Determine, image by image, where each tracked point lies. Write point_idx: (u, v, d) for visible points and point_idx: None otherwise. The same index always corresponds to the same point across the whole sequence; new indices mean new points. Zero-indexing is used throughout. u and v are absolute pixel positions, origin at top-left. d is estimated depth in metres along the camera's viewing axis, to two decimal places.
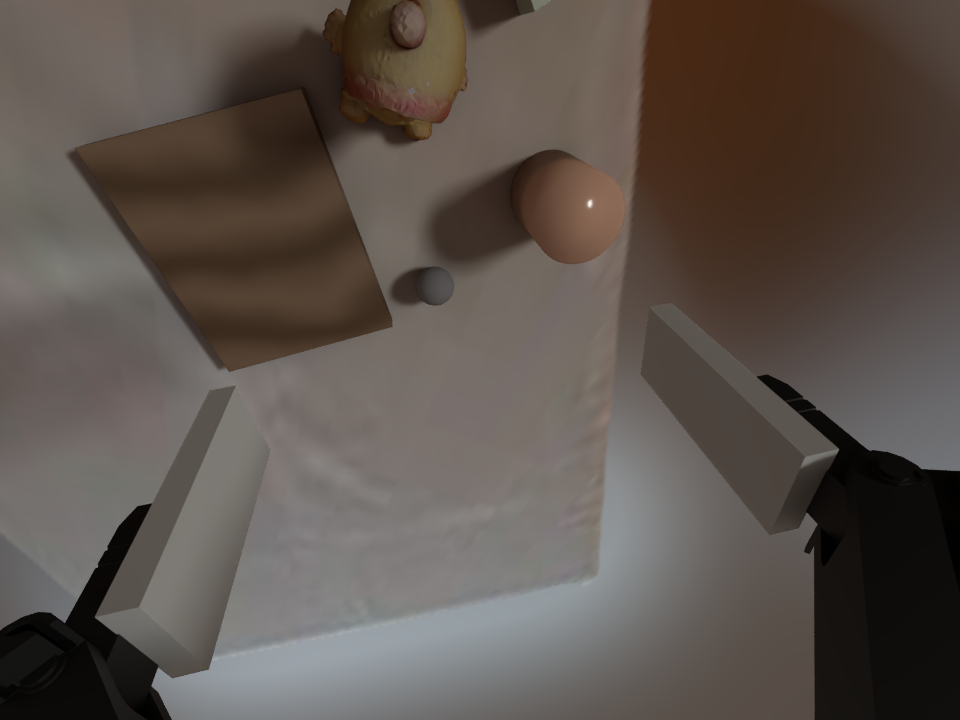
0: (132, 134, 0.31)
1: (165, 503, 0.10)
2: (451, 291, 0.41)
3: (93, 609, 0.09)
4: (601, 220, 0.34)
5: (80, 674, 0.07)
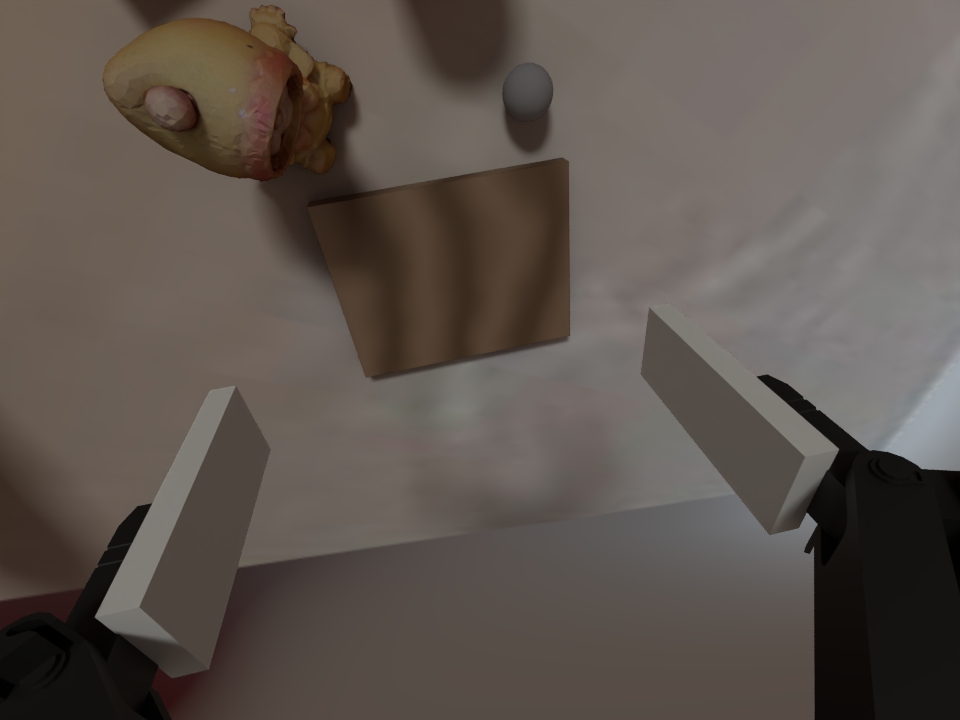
0: (354, 342, 0.40)
1: (165, 503, 0.10)
2: (537, 69, 0.30)
3: (93, 609, 0.09)
4: None
5: (80, 674, 0.07)
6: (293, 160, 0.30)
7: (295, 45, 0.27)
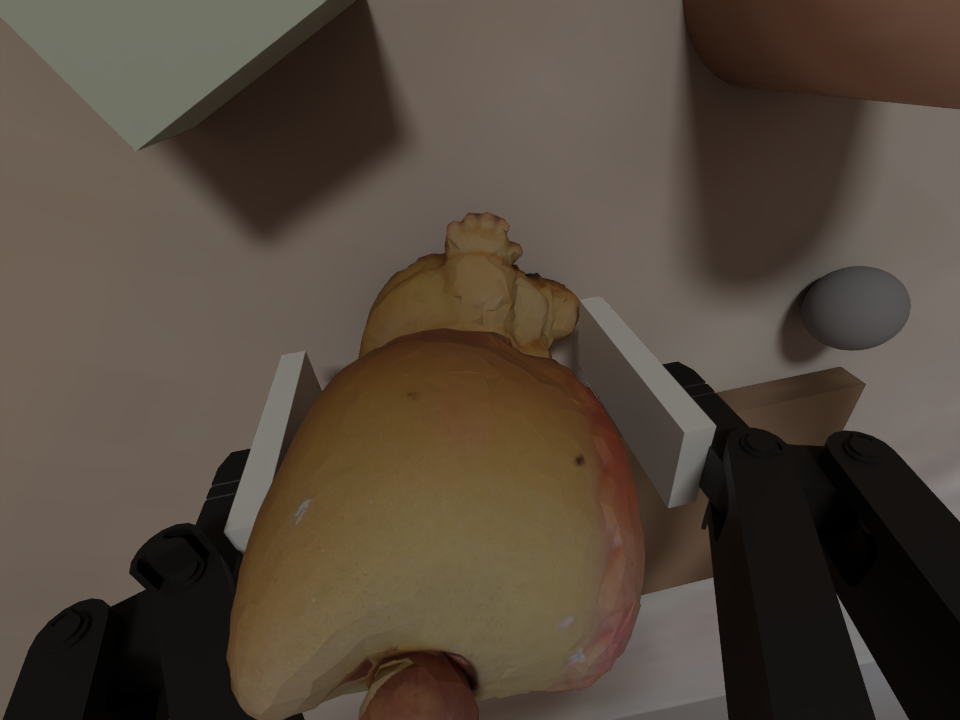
0: None
1: (263, 445, 0.11)
2: (898, 288, 0.17)
3: (211, 532, 0.10)
4: None
5: (214, 583, 0.08)
6: None
7: (524, 282, 0.14)
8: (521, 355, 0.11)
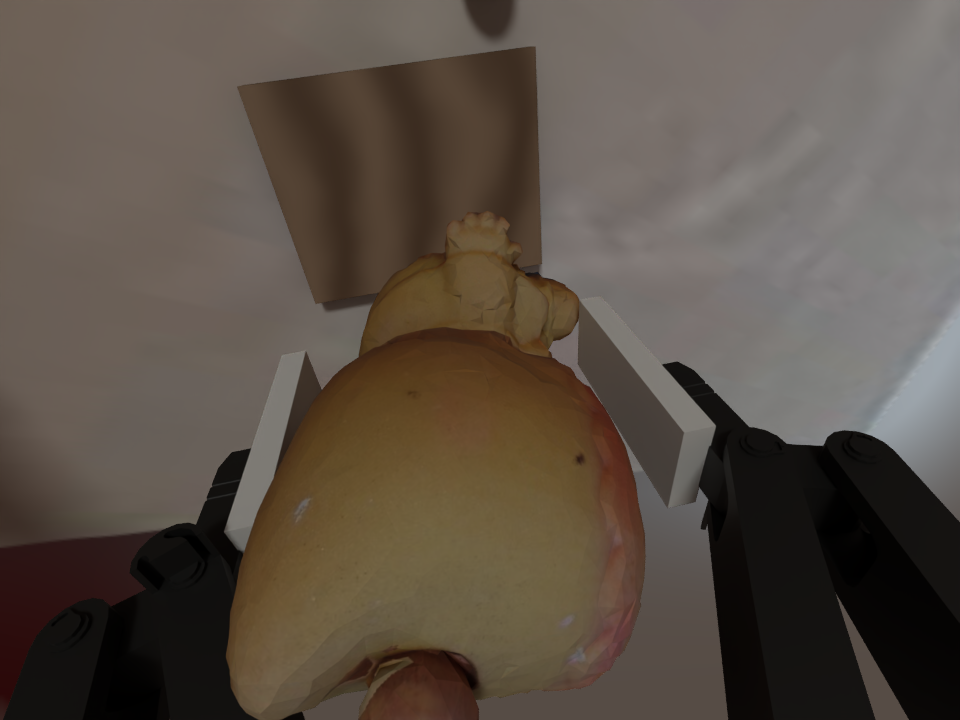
0: (301, 260, 0.36)
1: (264, 445, 0.11)
2: None
3: (211, 532, 0.10)
4: None
5: (215, 583, 0.08)
6: None
7: (524, 281, 0.14)
8: (521, 354, 0.11)
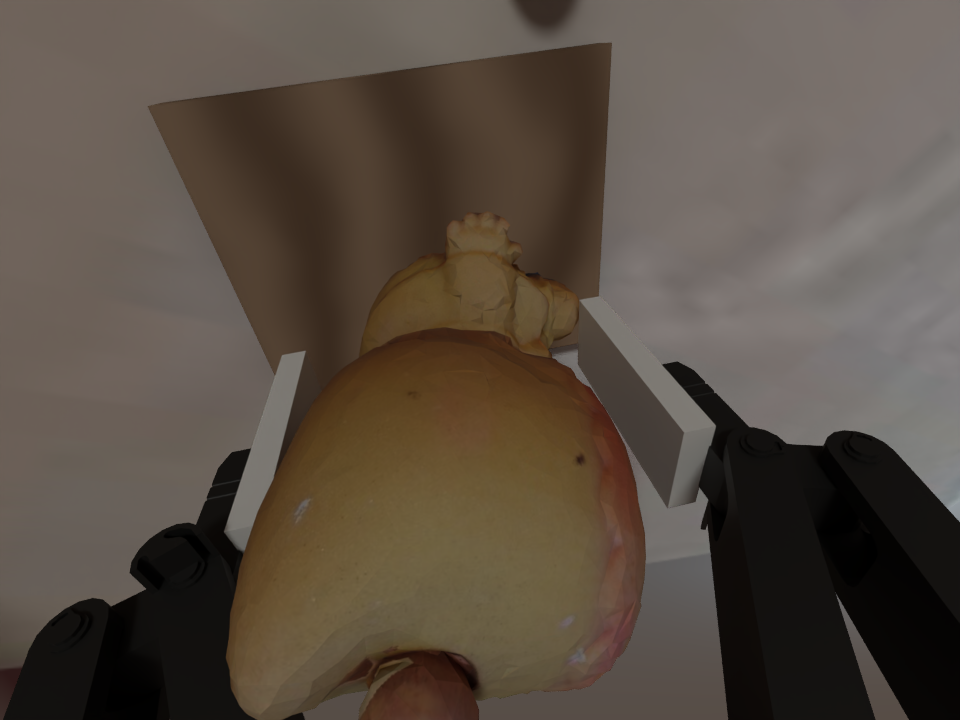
0: (263, 347, 0.25)
1: (264, 445, 0.11)
2: None
3: (211, 532, 0.10)
4: None
5: (215, 583, 0.08)
6: None
7: (524, 282, 0.14)
8: (521, 354, 0.11)
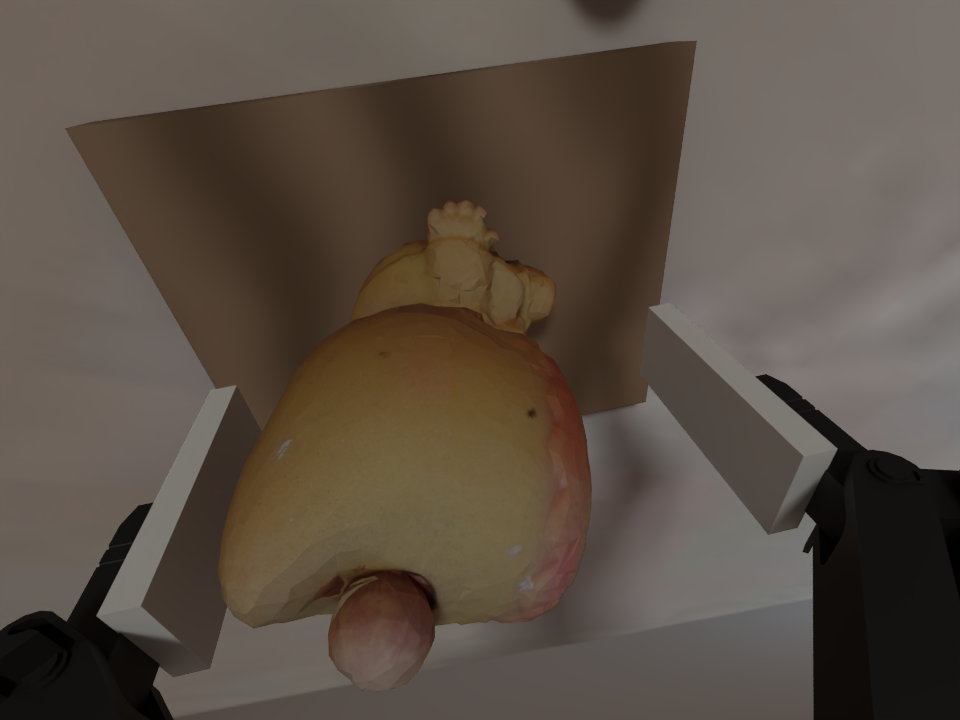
0: None
1: (166, 502, 0.10)
2: None
3: (94, 607, 0.09)
4: None
5: (82, 673, 0.07)
6: None
7: (500, 266, 0.15)
8: (490, 328, 0.12)
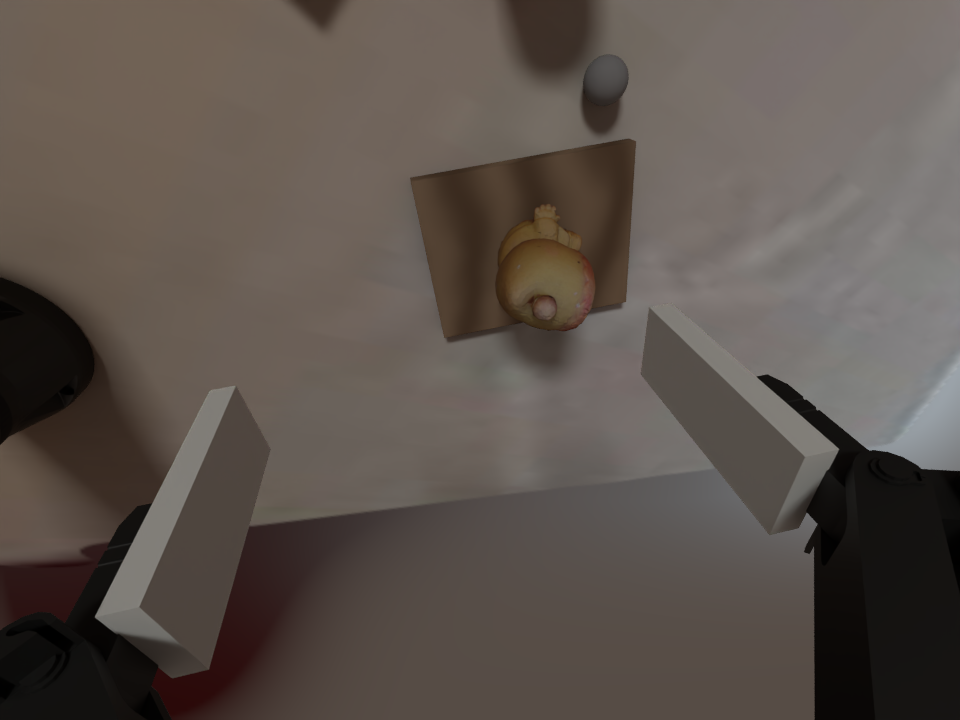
0: (438, 304, 0.45)
1: (165, 503, 0.10)
2: (616, 60, 0.35)
3: (92, 609, 0.09)
4: None
5: (80, 674, 0.07)
6: None
7: (561, 228, 0.40)
8: None
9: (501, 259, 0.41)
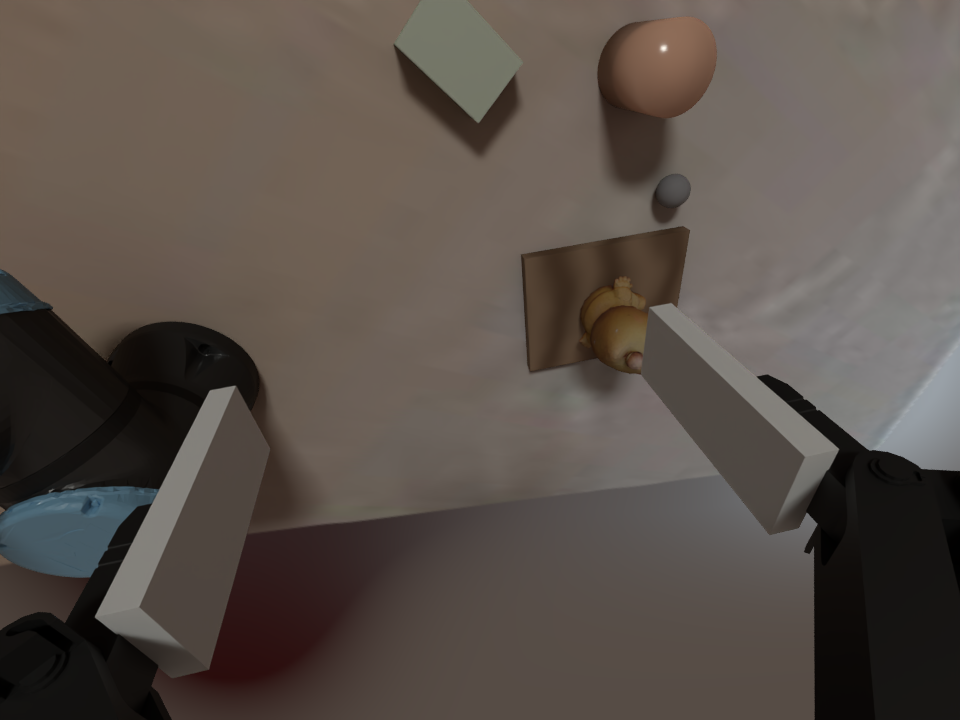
0: (529, 346, 0.58)
1: (165, 503, 0.10)
2: (683, 179, 0.48)
3: (93, 609, 0.09)
4: (684, 45, 0.36)
5: (80, 674, 0.07)
6: None
7: (633, 294, 0.53)
8: None
9: (587, 316, 0.54)
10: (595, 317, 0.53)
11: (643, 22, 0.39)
